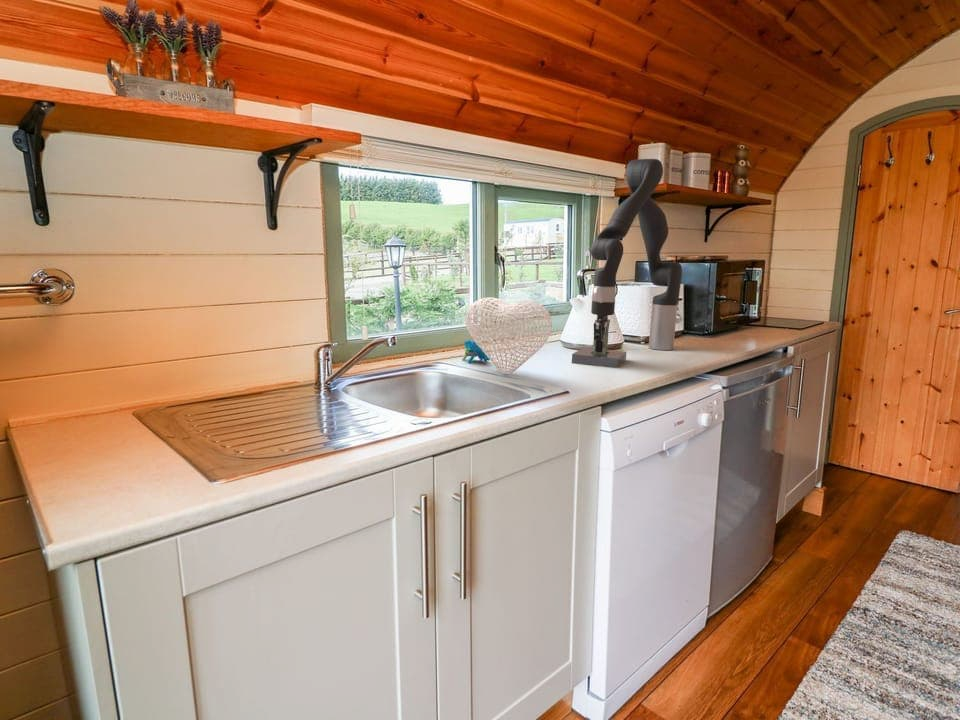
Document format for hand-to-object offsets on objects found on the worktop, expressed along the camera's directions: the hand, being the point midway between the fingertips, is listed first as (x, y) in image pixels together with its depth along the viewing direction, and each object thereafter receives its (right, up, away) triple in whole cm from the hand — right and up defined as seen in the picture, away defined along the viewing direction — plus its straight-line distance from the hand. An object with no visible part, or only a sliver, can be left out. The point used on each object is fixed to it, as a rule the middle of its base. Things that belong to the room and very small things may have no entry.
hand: (600, 350), depth 196 cm
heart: (-33, -7, -23) cm, 40 cm away
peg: (0, -2, 0) cm, 2 cm away
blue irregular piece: (-42, -4, -5) cm, 42 cm away
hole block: (0, -4, +1) cm, 4 cm away
